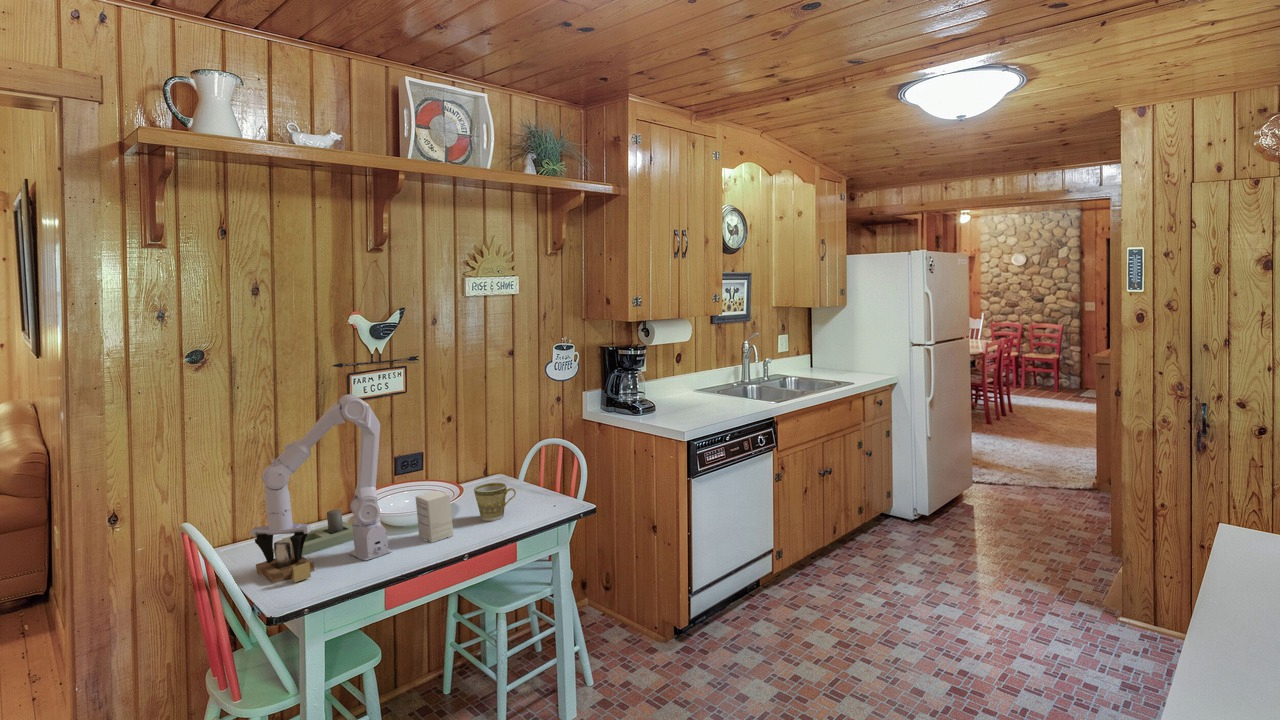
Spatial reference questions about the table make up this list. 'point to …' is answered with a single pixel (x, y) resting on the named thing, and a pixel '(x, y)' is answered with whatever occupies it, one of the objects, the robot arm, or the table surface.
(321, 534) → the tool rack
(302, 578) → the tan block with bar
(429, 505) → the supplement box
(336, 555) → the table surface
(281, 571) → the socket holder
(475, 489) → the ceramic cup
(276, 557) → the steel peg
